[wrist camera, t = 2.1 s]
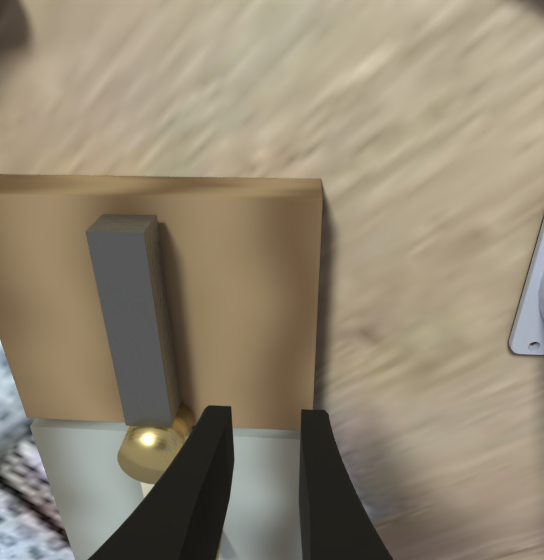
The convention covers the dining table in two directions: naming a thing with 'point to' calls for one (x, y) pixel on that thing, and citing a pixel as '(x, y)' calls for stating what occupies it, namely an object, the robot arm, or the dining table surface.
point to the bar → (139, 341)
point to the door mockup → (185, 332)
